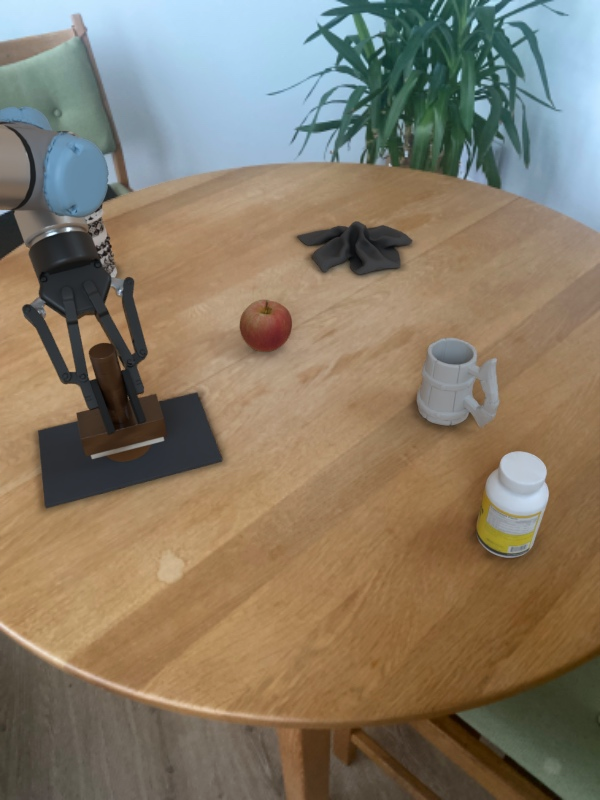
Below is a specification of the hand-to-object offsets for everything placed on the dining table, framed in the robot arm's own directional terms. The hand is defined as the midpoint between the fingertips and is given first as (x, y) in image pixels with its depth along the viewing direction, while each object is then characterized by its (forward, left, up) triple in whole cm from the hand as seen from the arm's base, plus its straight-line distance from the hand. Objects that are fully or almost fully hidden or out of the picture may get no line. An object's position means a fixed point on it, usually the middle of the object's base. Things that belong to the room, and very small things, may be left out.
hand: (127, 427), depth 79 cm
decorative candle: (0, +53, -9) cm, 53 cm away
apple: (+23, +21, -9) cm, 33 cm away
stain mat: (-1, +6, -8) cm, 10 cm away
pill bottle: (+37, -24, -9) cm, 45 cm away
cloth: (+47, +44, -9) cm, 65 cm away
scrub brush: (-1, +4, -5) cm, 6 cm away
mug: (+42, -4, -9) cm, 44 cm away
